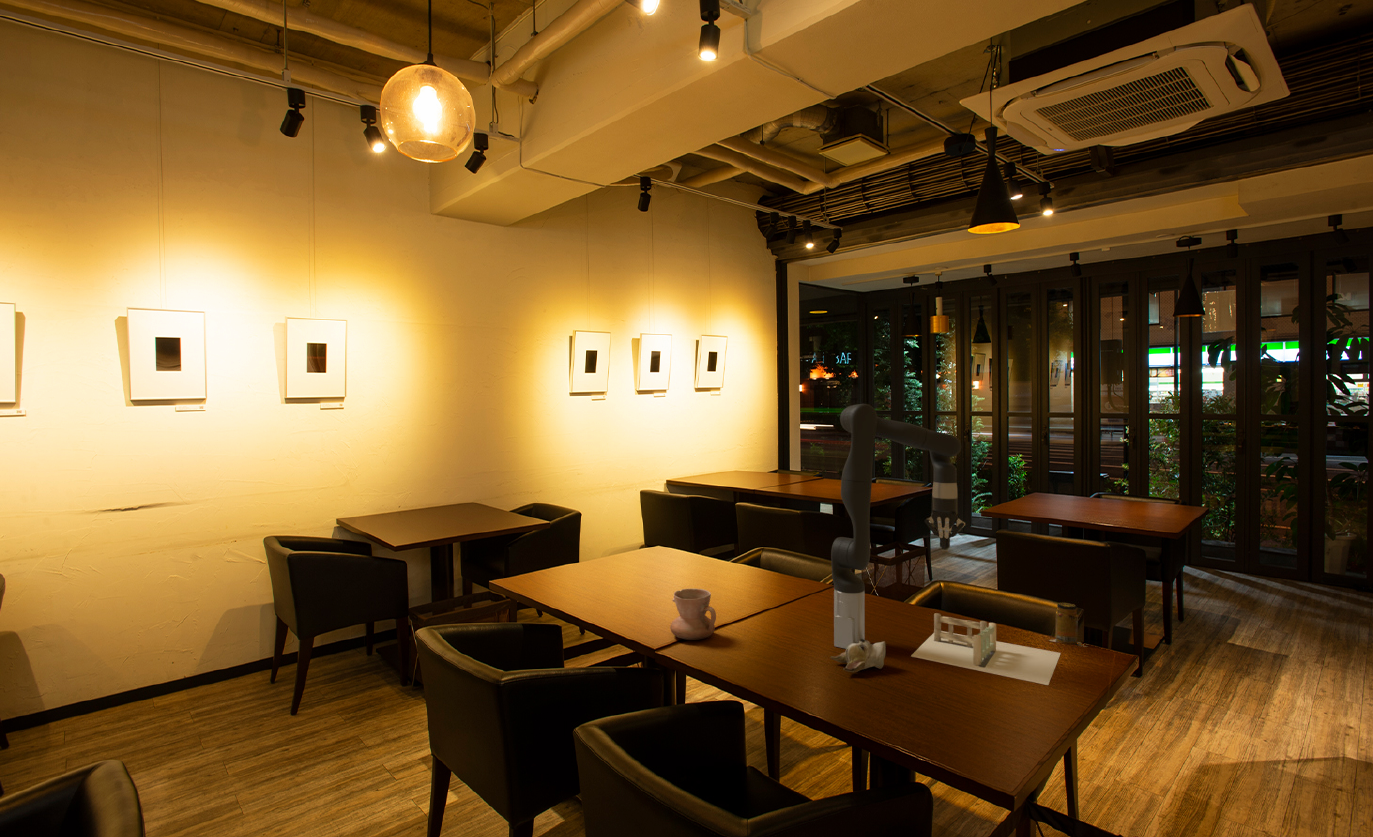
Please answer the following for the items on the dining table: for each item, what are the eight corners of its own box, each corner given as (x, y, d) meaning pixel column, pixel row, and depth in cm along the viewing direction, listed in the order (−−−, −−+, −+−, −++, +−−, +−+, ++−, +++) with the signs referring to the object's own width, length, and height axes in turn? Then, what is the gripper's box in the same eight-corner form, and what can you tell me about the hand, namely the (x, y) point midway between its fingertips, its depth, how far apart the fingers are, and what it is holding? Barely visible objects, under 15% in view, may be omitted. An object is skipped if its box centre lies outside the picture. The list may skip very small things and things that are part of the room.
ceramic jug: (658, 635, 216) (658, 592, 215) (689, 625, 226) (689, 584, 226) (698, 649, 203) (698, 603, 203) (729, 637, 214) (729, 594, 213)
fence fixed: (987, 649, 201) (987, 621, 201) (986, 651, 200) (986, 623, 200) (935, 639, 210) (935, 612, 210) (933, 640, 209) (933, 614, 209)
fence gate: (990, 648, 201) (990, 622, 201) (997, 650, 200) (997, 623, 200) (972, 663, 189) (972, 636, 189) (979, 665, 188) (979, 637, 188)
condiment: (1063, 637, 213) (1063, 600, 212) (1089, 646, 205) (1089, 607, 205) (1048, 641, 209) (1048, 603, 209) (1074, 649, 202) (1074, 610, 202)
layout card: (1048, 686, 175) (1048, 684, 175) (910, 657, 196) (910, 655, 196) (1060, 654, 198) (1060, 652, 198) (936, 631, 219) (936, 629, 219)
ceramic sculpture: (893, 642, 184) (843, 649, 181) (895, 673, 184) (845, 680, 181) (876, 630, 195) (828, 636, 192) (877, 659, 195) (829, 666, 192)
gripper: (969, 496, 214) (969, 549, 214) (927, 493, 222) (927, 544, 222) (963, 499, 208) (963, 553, 208) (920, 495, 216) (920, 548, 216)
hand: (944, 549), depth 215 cm, fingers closed
